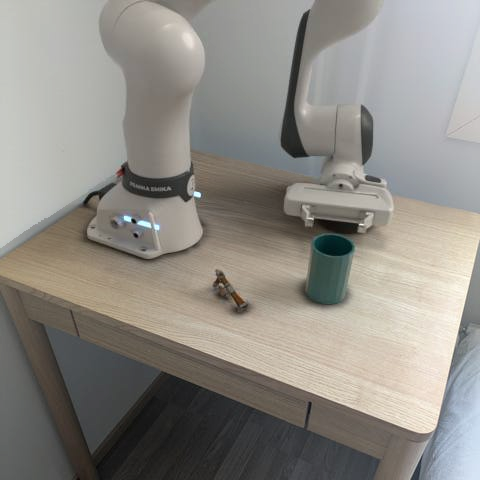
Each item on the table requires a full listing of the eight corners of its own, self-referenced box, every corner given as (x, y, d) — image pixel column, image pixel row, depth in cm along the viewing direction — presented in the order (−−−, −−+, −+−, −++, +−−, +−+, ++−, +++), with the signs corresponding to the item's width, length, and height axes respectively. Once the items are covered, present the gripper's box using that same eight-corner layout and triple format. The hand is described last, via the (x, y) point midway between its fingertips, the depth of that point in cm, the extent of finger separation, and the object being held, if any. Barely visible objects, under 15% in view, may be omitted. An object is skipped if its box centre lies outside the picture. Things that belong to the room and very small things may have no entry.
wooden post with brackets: (215, 279, 85) (221, 264, 81) (242, 315, 83) (250, 302, 79) (206, 283, 84) (212, 268, 80) (233, 319, 82) (241, 306, 78)
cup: (301, 299, 83) (308, 252, 76) (309, 276, 87) (315, 230, 81) (342, 308, 81) (352, 260, 75) (347, 283, 86) (357, 237, 80)
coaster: (316, 228, 99) (316, 227, 99) (324, 205, 106) (325, 204, 106) (366, 237, 97) (366, 236, 97) (371, 212, 104) (371, 211, 104)
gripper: (289, 169, 97) (279, 203, 87) (394, 180, 94) (397, 217, 84) (286, 198, 102) (276, 234, 92) (387, 210, 99) (389, 248, 89)
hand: (335, 226), depth 88 cm, fingers open, 8 cm apart
